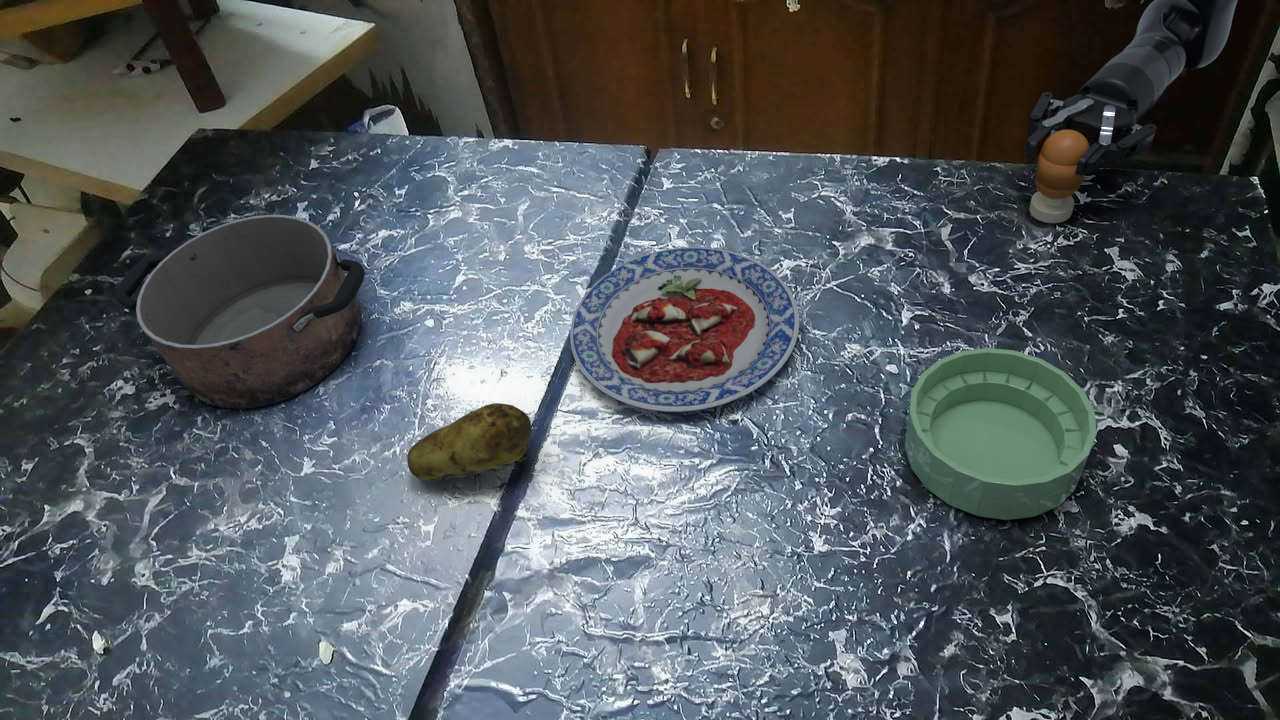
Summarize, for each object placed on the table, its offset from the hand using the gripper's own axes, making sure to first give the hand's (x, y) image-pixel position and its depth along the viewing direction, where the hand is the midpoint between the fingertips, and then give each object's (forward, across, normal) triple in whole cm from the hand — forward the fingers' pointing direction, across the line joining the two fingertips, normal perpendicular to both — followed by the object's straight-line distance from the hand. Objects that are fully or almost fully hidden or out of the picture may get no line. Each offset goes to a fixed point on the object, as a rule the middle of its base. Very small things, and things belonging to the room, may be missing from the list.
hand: (1055, 159), depth 105 cm
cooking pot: (+71, -62, +9) cm, 95 cm away
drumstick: (-3, 0, +9) cm, 9 cm away
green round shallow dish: (+34, +13, +9) cm, 37 cm away
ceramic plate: (+40, -22, +9) cm, 46 cm away
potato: (+67, -26, +9) cm, 73 cm away
